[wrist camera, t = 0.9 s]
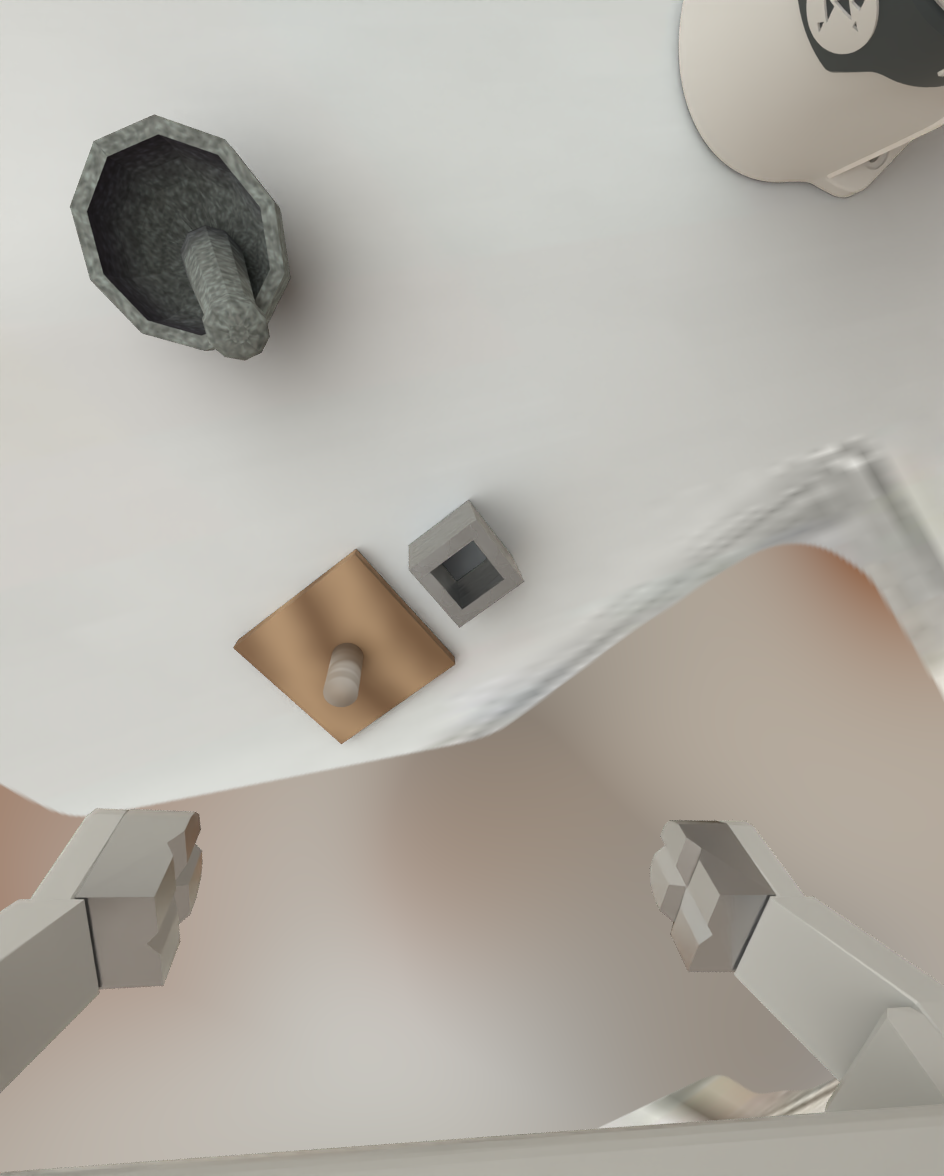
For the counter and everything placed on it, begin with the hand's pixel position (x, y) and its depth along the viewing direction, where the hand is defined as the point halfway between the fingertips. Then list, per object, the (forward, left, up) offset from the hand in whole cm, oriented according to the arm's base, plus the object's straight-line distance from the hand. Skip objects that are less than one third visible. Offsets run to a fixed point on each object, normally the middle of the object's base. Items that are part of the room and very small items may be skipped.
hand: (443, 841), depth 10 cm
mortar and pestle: (+1, -16, -33) cm, 37 cm away
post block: (+13, +8, -33) cm, 36 cm away
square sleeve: (+1, +7, -33) cm, 34 cm away
